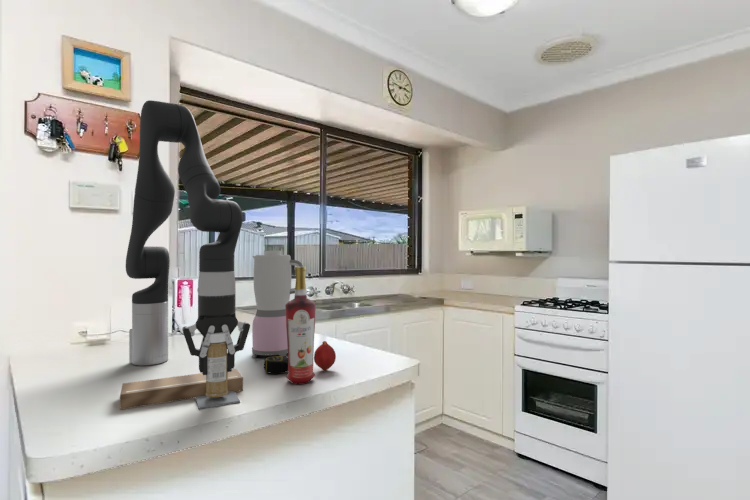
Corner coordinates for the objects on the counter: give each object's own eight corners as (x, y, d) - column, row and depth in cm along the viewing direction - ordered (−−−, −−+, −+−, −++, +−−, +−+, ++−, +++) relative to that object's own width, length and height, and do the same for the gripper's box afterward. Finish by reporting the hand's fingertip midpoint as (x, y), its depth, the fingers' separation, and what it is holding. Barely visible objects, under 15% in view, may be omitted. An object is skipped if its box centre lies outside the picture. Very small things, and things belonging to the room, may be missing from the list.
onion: (314, 367, 114) (314, 338, 114) (335, 367, 114) (335, 338, 114) (313, 374, 108) (313, 343, 108) (335, 373, 109) (335, 342, 109)
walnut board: (120, 409, 84) (120, 394, 84) (122, 397, 91) (122, 383, 91) (242, 390, 96) (242, 376, 96) (236, 380, 103) (236, 368, 103)
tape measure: (291, 375, 108) (291, 360, 108) (264, 377, 106) (264, 362, 106) (288, 367, 115) (288, 354, 115) (263, 370, 113) (263, 356, 113)
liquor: (314, 375, 107) (314, 266, 107) (317, 385, 99) (316, 267, 99) (285, 377, 105) (285, 266, 105) (285, 387, 98) (285, 267, 98)
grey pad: (198, 409, 84) (198, 407, 84) (195, 398, 90) (195, 396, 90) (239, 402, 88) (239, 400, 88) (234, 392, 94) (234, 390, 94)
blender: (246, 359, 123) (245, 250, 123) (258, 349, 135) (258, 250, 135) (299, 359, 123) (299, 250, 123) (306, 349, 135) (306, 250, 135)
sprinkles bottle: (229, 390, 92) (229, 329, 92) (226, 397, 88) (226, 333, 88) (207, 391, 91) (207, 330, 91) (203, 399, 87) (203, 334, 87)
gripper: (181, 296, 83) (181, 382, 83) (254, 292, 89) (254, 372, 89) (179, 292, 89) (179, 372, 89) (247, 289, 96) (247, 363, 96)
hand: (217, 372), depth 89 cm, fingers closed on sprinkles bottle, 4 cm apart
